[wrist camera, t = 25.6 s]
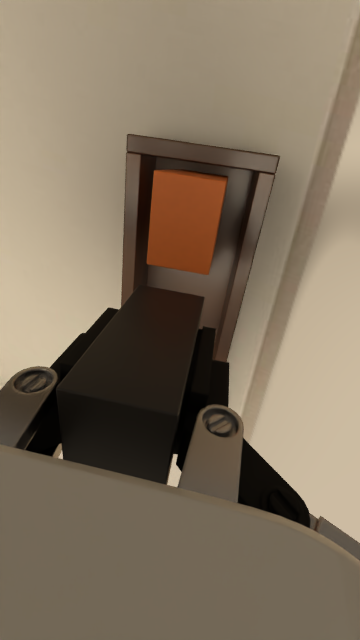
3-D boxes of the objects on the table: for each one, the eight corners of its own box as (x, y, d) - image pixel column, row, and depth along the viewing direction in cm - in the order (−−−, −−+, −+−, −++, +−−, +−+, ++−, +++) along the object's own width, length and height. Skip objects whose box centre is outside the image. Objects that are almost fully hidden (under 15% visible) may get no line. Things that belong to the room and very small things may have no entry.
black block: (204, 296, 13) (179, 415, 7) (191, 367, 15) (161, 511, 8) (139, 283, 13) (54, 388, 7) (134, 355, 15) (64, 487, 9)
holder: (147, 140, 18) (126, 133, 14) (270, 158, 17) (280, 155, 14) (131, 395, 28) (116, 428, 25) (207, 412, 28) (203, 448, 24)
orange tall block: (228, 176, 17) (226, 181, 11) (216, 241, 19) (208, 275, 13) (180, 168, 18) (153, 169, 12) (172, 234, 20) (146, 264, 14)
